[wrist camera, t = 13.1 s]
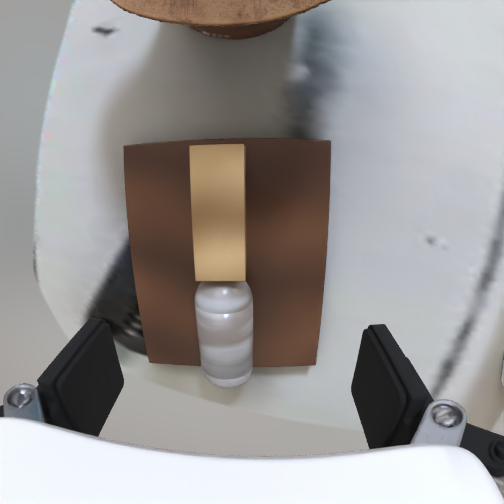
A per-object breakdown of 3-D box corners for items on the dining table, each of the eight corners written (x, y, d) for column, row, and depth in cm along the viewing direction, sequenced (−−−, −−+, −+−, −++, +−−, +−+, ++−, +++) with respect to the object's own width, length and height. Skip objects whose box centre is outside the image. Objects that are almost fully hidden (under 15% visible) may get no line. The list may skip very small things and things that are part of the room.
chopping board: (130, 145, 24) (123, 145, 22) (326, 141, 24) (331, 140, 22) (153, 354, 30) (149, 362, 28) (313, 356, 30) (315, 365, 28)
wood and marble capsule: (193, 147, 23) (180, 146, 18) (252, 145, 23) (252, 143, 18) (206, 366, 28) (200, 398, 24) (253, 367, 28) (253, 399, 24)
